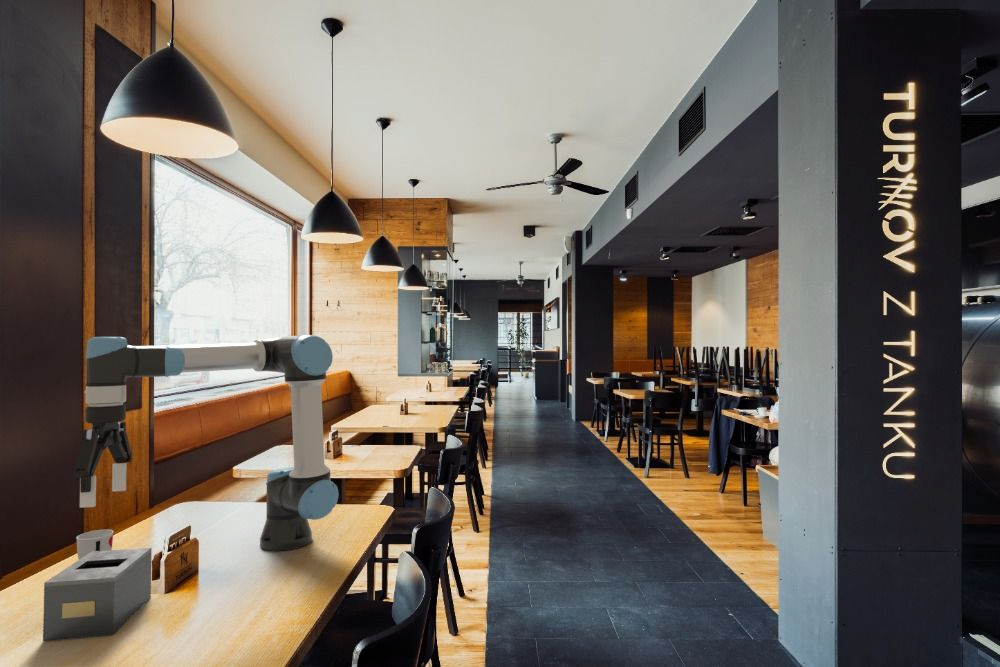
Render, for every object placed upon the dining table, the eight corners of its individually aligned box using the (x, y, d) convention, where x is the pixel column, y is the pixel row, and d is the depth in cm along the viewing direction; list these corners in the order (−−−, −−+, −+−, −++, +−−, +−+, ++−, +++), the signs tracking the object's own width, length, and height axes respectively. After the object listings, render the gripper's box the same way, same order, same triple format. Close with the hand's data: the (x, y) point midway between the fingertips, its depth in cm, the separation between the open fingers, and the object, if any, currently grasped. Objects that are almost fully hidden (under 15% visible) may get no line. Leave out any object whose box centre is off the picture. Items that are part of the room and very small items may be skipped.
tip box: (150, 597, 133) (151, 547, 133) (112, 635, 115) (113, 577, 115) (90, 602, 130) (91, 551, 131) (42, 642, 112) (43, 583, 113)
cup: (92, 578, 144) (93, 540, 144) (67, 576, 146) (68, 538, 146) (120, 566, 152) (120, 530, 152) (95, 564, 154) (96, 528, 154)
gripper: (115, 400, 136) (113, 485, 135) (53, 410, 111) (51, 515, 111) (148, 399, 137) (147, 484, 137) (94, 409, 113) (93, 513, 112)
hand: (104, 498), depth 124 cm, fingers open, 13 cm apart
